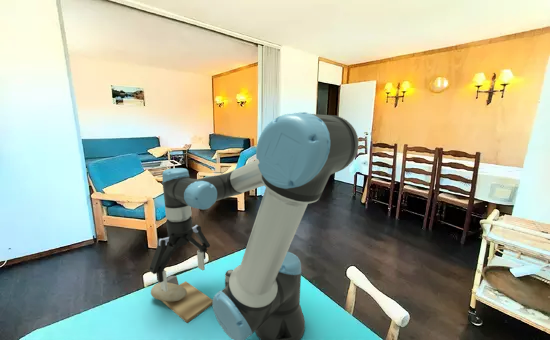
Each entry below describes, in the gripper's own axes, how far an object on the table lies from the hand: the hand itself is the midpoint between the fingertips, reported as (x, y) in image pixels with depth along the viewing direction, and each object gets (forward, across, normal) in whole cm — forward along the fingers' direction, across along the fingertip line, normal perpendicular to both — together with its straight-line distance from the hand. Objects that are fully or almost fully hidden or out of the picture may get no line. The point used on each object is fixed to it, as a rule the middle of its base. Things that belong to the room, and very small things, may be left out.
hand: (184, 278), depth 79 cm
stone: (+6, 0, +1) cm, 6 cm away
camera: (+9, -16, +14) cm, 23 cm away
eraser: (+8, 0, -9) cm, 12 cm away
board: (+9, 0, 0) cm, 9 cm away
